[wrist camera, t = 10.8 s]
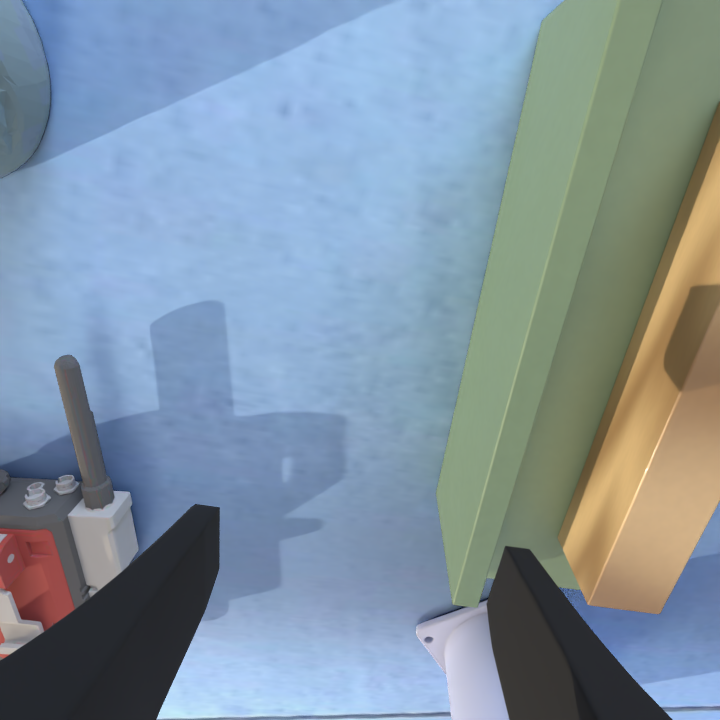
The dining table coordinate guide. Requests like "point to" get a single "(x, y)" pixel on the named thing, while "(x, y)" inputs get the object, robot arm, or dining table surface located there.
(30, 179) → the dining table surface
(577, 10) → the shelf
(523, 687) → the robot arm
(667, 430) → the stick
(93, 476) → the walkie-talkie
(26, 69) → the embossed green cup
